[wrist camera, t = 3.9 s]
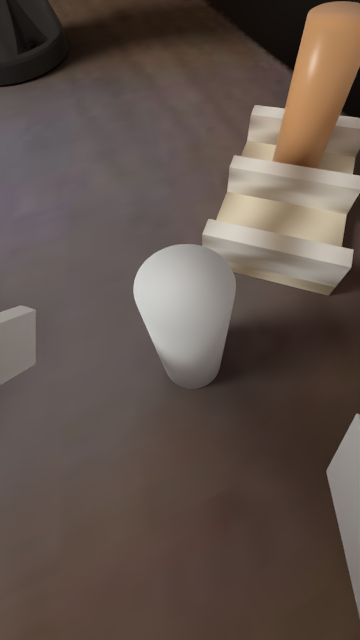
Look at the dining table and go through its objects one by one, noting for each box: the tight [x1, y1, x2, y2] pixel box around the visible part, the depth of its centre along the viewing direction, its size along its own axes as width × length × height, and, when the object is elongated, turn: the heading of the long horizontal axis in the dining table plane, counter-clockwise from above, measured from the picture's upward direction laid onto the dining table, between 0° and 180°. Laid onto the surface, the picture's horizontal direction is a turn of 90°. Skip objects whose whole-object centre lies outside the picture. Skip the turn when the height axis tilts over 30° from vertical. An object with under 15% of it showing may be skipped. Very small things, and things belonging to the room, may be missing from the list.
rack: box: [202, 105, 360, 296], centre depth 24 cm, size 10×16×4 cm, turn 160°
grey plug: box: [134, 244, 236, 389], centre depth 16 cm, size 4×4×10 cm
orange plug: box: [272, 1, 360, 169], centre depth 21 cm, size 4×4×10 cm
